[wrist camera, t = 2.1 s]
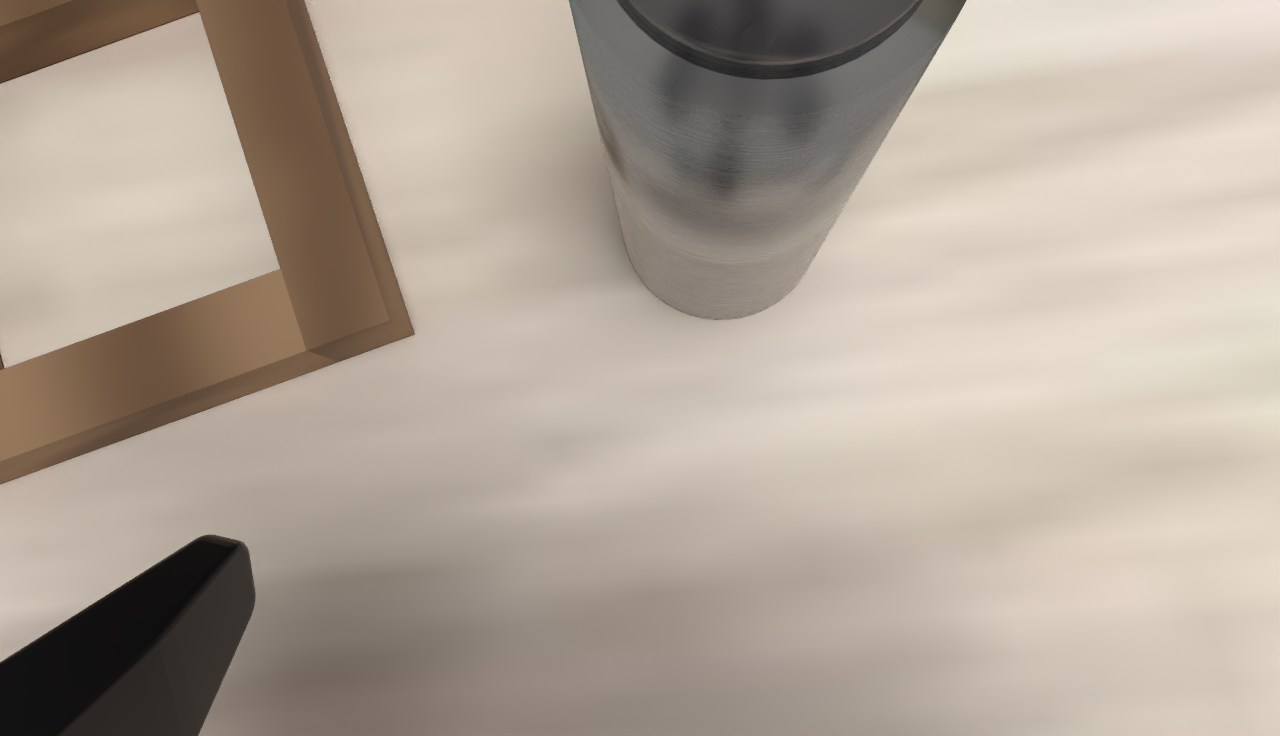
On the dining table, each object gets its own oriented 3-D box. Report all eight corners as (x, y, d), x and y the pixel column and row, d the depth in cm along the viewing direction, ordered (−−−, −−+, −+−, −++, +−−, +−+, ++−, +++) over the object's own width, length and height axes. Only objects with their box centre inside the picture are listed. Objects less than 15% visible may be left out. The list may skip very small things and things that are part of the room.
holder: (-45, 500, 23) (-112, 502, 21) (-158, 64, 25) (-230, 28, 23) (414, 333, 23) (389, 320, 21) (273, -92, 25) (238, -141, 23)
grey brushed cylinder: (661, 347, 23) (637, 158, 10) (596, 168, 24) (486, -245, 10) (847, 280, 23) (1081, -3, 10) (777, 103, 24) (904, -396, 10)
